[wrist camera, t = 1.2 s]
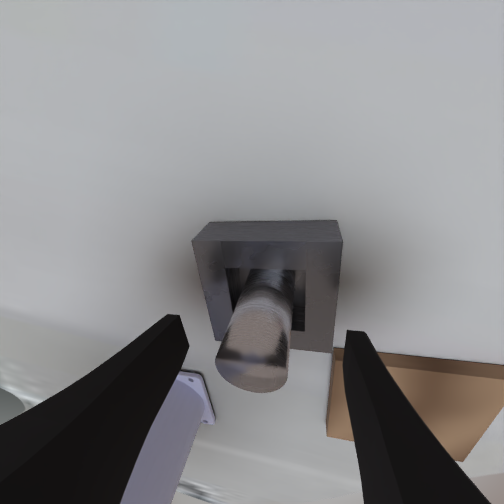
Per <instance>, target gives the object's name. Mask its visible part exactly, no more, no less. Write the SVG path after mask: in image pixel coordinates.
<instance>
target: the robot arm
mask: <svg viewBox="0 0 504 504" xmlns="http://www.w3.org/2000/svg"><path fill="white" fill-rule="evenodd" d="M188 349H189V343H188V340H187V337H186V334H185V331H184V327H183V324H182V321H181V318H180V315H172V314H167V315H166V316H164V317H163V318H162V319H160V320H159V321H158V322H157V323H155V324H154V325H153V326H151V327H150V328H149V329H148V330H146V331H145V332H144V333H143V334H141V335H140V336H139V337H137V338H136V339H135V340H134V341H132V342H131V343H130V344H128V345H127V346H126V347H125V348H123V349H122V350H121V351H119V352H118V353H117V354H115V355H114V356H112V357H111V358H110V359H108V360H107V361H105V362H104V363H103V364H101V365H100V366H99V367H97V368H96V369H94V370H93V371H91V372H90V373H89V374H87V375H86V376H84V377H83V378H81V379H79V380H78V381H76V382H75V383H73V384H72V385H70V386H68V387H67V388H65V389H64V390H62V391H60V392H59V393H57V394H55V395H54V396H52V397H50V398H48V399H47V400H45V401H43V402H41V403H40V404H38V405H36V406H35V407H33V408H31V409H29V410H28V411H26V412H24V413H22V414H20V415H18V416H17V417H15V418H13V419H11V420H9V421H7V422H5V423H3V424H1V425H0V504H171V502H172V500H173V497H174V494H175V491H176V489H177V486H178V483H179V480H180V477H181V475H182V472H183V469H184V466H185V464H186V461H187V458H188V455H189V452H190V450H191V447H192V444H193V441H194V439H195V436H196V433H197V430H198V427H199V425H200V423H205V424H210V425H213V424H215V420H216V419H215V416H214V413H213V410H212V407H211V403H210V400H209V397H208V394H207V391H206V387H205V384H204V381H203V378H202V376H201V375H199V374H195V373H188V372H182V371H180V369H181V367H182V365H183V362H184V360H185V357H186V354H187V351H188ZM342 367H343V378H344V388H345V396H346V401H347V406H348V411H349V417H350V422H351V427H352V432H353V437H354V442H355V448H356V453H357V458H358V463H359V469H360V476H361V482H362V491H363V499H364V504H491V503H490V502H489V501H488V500H487V499H486V497H485V496H484V495H483V494H482V493H481V492H480V490H479V489H478V488H477V487H476V486H475V484H474V483H473V482H472V481H471V480H470V479H469V477H468V476H467V475H466V474H465V473H464V471H463V470H462V469H461V468H460V467H459V466H458V464H457V463H456V462H455V461H454V459H453V458H452V457H451V456H450V454H449V453H448V452H447V451H446V450H445V448H444V447H443V446H442V445H441V443H440V442H439V441H438V439H437V438H436V437H435V436H434V434H433V433H432V432H431V430H430V429H429V428H428V426H427V425H426V424H425V423H424V421H423V420H422V418H421V417H420V416H419V414H418V413H417V412H416V410H415V409H414V408H413V406H412V405H411V403H410V402H409V401H408V399H407V398H406V396H405V395H404V393H403V392H402V390H401V389H400V388H399V386H398V385H397V383H396V382H395V380H394V379H393V377H392V376H391V374H390V373H389V371H388V369H387V368H386V366H385V365H384V363H383V361H382V360H381V358H380V357H379V355H378V353H377V352H376V350H375V348H374V346H373V345H372V343H371V341H370V339H369V337H368V336H367V334H366V333H365V332H363V331H352V330H347V334H346V341H345V348H344V356H343V363H342Z"/></svg>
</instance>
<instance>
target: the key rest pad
mask: <svg viewBox="0 0 504 504" xmlns="http://www.w3.org/2000/svg"><path fill="white" fill-rule="evenodd" d="M377 353H378V355H379V357H380V358H381V360H382V361H383V363H384V365H385V366H386V368H387V369H388V371H389V373H390V374H391V376H392V377H393V379H394V380H395V382H396V383H397V385H398V386H399V388H400V389H401V390H402V392H403V393H404V395H405V396H406V398H407V399H408V401H409V402H410V403H411V405H412V406H413V408H414V409H415V410H416V412H417V413H418V414H419V416H420V417H421V418H422V420H423V421H424V423H425V424H426V425H427V426H428V428H429V429H430V430H431V432H432V433H433V434H434V436H435V437H436V438H437V439H438V441H439V442H440V443H441V445H442V446H443V447H444V448H445V450H446V451H447V452H448V453H449V454H450V456H451V457H452V458H453V459H454V460H455V461H460V462H463V461H464V460H465V458H466V457H467V456H468V454H469V453H470V452H471V450H472V449H473V447H474V446H475V445H476V443H477V442H478V441H479V439H480V438H481V437H482V435H483V434H484V432H485V431H486V430H487V428H488V427H489V426H490V424H491V423H492V421H493V420H494V419H495V417H496V416H497V415H498V413H499V412H500V411H501V409H502V408H503V406H504V366H503V365H494V364H484V363H474V362H465V361H455V360H446V359H436V358H427V357H417V356H407V355H398V354H388V353H379V352H377ZM343 356H344V349H340V348H334V351H333V361H332V370H331V380H330V390H329V399H328V409H327V419H326V432H327V437H333V438H338V439H343V440H349V441H354V437H353V432H352V427H351V422H350V417H349V411H348V406H347V401H346V396H345V388H344V378H343V367H342V363H343Z"/></svg>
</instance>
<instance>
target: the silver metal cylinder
mask: <svg viewBox="0 0 504 504" xmlns="http://www.w3.org/2000/svg"><path fill="white" fill-rule="evenodd" d="M294 289H295V275H294V273H293V271H292V270H281V269H250V272H249V274H248V277H247V279H246V282H245V284H244V287H243V289H242V292H241V294H240V297H239V300H238V302H237V305H236V307H235V310H234V312H233V315H232V317H231V320H230V322H229V325H228V328H227V330H226V333H225V335H224V338H223V340H222V343H221V345H220V348H219V350H218V353H217V356H216V359H215V364H216V368H217V370H218V372H219V373H220V374H221V376H222V377H223V378H224V379H225V380H227V381H228V382H229V383H231V384H233V385H234V386H236V387H238V388H241V389H244V390H247V391H251V392H258V393H267V392H272V391H275V390H278V389H280V388H281V387H282V386H283V385H284V384H285V383H286V381H287V375H288V363H289V351H290V338H291V326H292V314H293V302H294Z"/></svg>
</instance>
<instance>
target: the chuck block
mask: <svg viewBox="0 0 504 504" xmlns="http://www.w3.org/2000/svg"><path fill="white" fill-rule="evenodd" d="M192 245H193V250H194V254H195V258H196V262H197V266H198V270H199V275H200V279H201V283H202V287H203V291H204V295H205V299H206V304H207V308H208V312H209V316H210V320H211V324H212V328H213V333H214V337H215V341H222V340H223V338H224V335H225V333H226V330H227V328H228V325H229V322H230V320H231V317H232V315H233V312H234V310H235V307H236V305H237V302H238V300H239V297H240V294H241V292H242V289H243V287H244V284H245V282H246V279H247V277H248V274H249V272H250V269H281V270H292V271H293V273H294V275H295V289H294V302H293V314H292V326H291V338H290V349H297V350H306V351H315V352H325V353H332V346H333V336H334V326H335V316H336V306H337V296H338V286H339V276H340V266H341V256H342V245H343V240H342V237H341V234H340V230H339V227H338V223H337V220H324V221H252V222H209V223H208V224H207V225H206V226H205V227H204V229H203V230H202V231H201V232H200V233H199V234H198V235H197V236H196V237H195V238H194V239H193V240H192Z"/></svg>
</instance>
